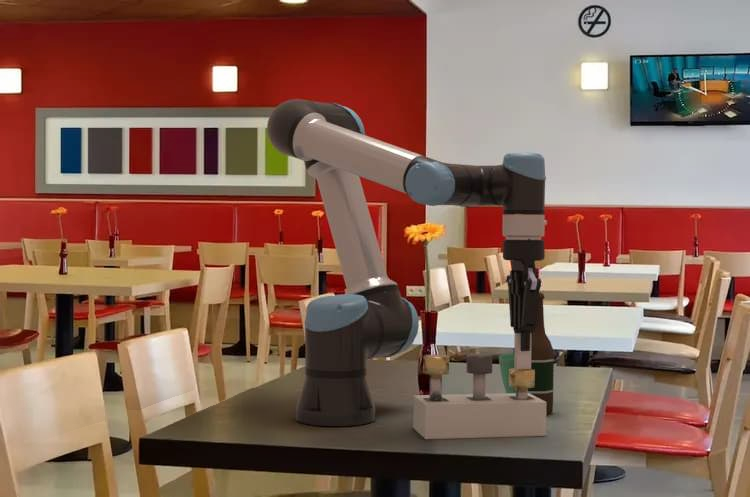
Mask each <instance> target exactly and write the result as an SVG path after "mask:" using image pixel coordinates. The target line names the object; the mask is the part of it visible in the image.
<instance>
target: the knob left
mask: <svg viewBox="0 0 750 497" xmlns="http://www.w3.org/2000/svg"><path fill="white" fill-rule="evenodd" d="M422 364H423V365H422V367H423V370H422V373H423V374H424V375H429V395H430V401H432V402H441V401H442V395H443V376H444V375H449V374H450V356H449V355H445V354H425V355H423V363H422Z"/></svg>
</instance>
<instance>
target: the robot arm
mask: <svg viewBox="0 0 750 497" xmlns="http://www.w3.org/2000/svg"><path fill="white" fill-rule="evenodd" d="M266 132H267V137H268V139H269V142H270V143H271V145H272V146H273V147H274V148H275V150H276V151H278V152H279V153H280V154H282V155H284V156H287V157H292V158H296V159H298V160H301V161H303V162H304V165H305V169H306V172H307V174H308V175H309V176H310V177H312V178H314V179H315V180H316V181H317V185H318V189H319V191H320V192H319V193H320V196H321V200H322V204H323V208H324V210H325V215H326V219H327V221H328V222H327V223H328V225H329V228H330V233H331V237H332V239H333V243H334V246H335V247H334V248H335V250H336V254H337V259H338V261H339V266H340V269H341V272H342V276H343V280H344V283H345V287H346V291H345V293H344V294H335V295H325V296H321V297H318V298H315V299H312V300H311V301H309V303H308V304H307V306H306V310H305V319H304V326H305V327H304V331H305V332H304V333H305V334H304V336H305V338H304V339H305V344H304V346H305V351H304V353H305V355H304V356H305V357H304V358H305V360H304V361H305V362H304V365H305V373H304V374H305V375H304V377H305V378H304V382H303V386H302V388H301V391H300V394H299V397H298V400H297V404H296V406H295V420H296V421H297V422H299V423H302V424H306V425H312V426H322V427H349V426H350V427H351V426H361V425H366V424H370V423H372V422H374V421H375V420H376V406H375V404H374V400H373V397H372V393H371V389H370V386H369V383H368V380H367V361H368V360H373V359H378V358H390V357H393V356H396V355H399V354H401V353H404V352H406V351H407V350H408V349H409V348H411V346H412V345H413V343H414V342H415V339H416V337H417V335H418V333H419V325H420V324H419V323H420V322H419V315H418V313H417V310H416V308H415V306H414V305H413V303H412V302H410V301H408V300H407V299H406V298H405V297H402V295H401V292H400V289H399V284H398V283H397V282H395V281H394V280H392V279H390V278H389V277H388V273H387V271H386V267H385V264H384V260H383V257H382V253H381V249H380V246H379V243H378V238H377V235H376V231H375V228H374V225H373V224H374V223H373V221H372V218H371V214H370V210H369V207H368V204H367V200H366V196H365V193H364V188H363V186H362V182H361V178H363V179H366V180H369V181H372V182H374V183H377V184H379V185H382V186H385V187H388V188H390V189H393V190H396V191H398V192H402V193H403V194H405V195H406V194H407V195H408V196H409V197H410V198H411V200H412V201H414V202H416V203H417V204H420V205H421V204H422V205H425V206H430V207H434V206H456V207H457V206H458V207H466V208H469V207H488V206H490V207H491V206H492V207H493V206H494V207H495V206H498V207H500V206H502V236H503V237H505V239H503V241H502V258H503V260H504V261H512V262H511V263H512V264H511V270H510V271H509V275H506V278H505V279H506V284H507V289H508V290H507V291H508V304H509V320H510V321H509V322H510V323H509V325H510V327H511V328H513V332H514V343H513V344H514V345H513V346H514V347H513V348H514V351H513V352H514V353H513V354H514V368H515V369H531V333H532V332H533V330H536V323H537V311H538V300H539V292H540V289H541V287H542V286H541V284H542V279H541V278H540V277H539V278H538V272H537V269H536V262H537V261H539V262H540V261H544V259H545V255H546V254H545V251H546V249H545V248H546V247H545V246H546V244H545V241H544V240H543V239H542V237H544V236H545V228H546V227H545V226H547V224H548V220H546V219H545V217H546V216H545V212H546V211H545V206H546V205H545V204H546V203H545V200H546V199H545V198H546V197H545V195H546V180H547V177H546V162H545V157H544V156H543V155H542V154H540V153H538V152H537V153H536V152H511V153H506V154H504V156H503V160H502V164H498V165H497V164H496V165H473V164H461V163H450V162H449V163H447V162H443V161H440V160H436V159H434V158H431V157H428V156H427V157H426V156H424V155H422V154H420V153H417V152H413V151H411V150H407V149H406V148H403V147H399V146H396V145H394V144H391V143H388V142H384V141H382V140H380V139H376V138H374V137H370V136H369V135H366V132H365V128H364V124H363V122H362V119H361V118H360V117H359V115H358V114H357V113H356V112H355V111H354V110H353V109H351V108H349V107H347V106H343V105H341V104H339V103H336V102H321V101H320V102H319V101H312V100H306V99H302V98H301V99H300V98H295V99H288V100H286V101H283V102H281V103H280V104H279V105H277V106H276V107H274V109H273V110H272V111H271V113H270V115H269V117H268V120H267V125H266ZM360 177H361V178H360Z"/></svg>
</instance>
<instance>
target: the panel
mask: <svg viewBox="0 0 750 497" xmlns="http://www.w3.org/2000/svg"><path fill="white" fill-rule="evenodd" d="M546 403H547V402H545V401H543V400H541V399H539V398H537V397H535V396H533V395H532V394H530V393H528V400H516V393H509V394H506V393H485V400H484V401H475V400H473V393H471V394H470V393H468V394H467V393H465V394H461V393H460V394H442V401H441V402H432V401H430V394H426V395H425V394H424V395H423V394H422V395H420V394H419V395H418V394H417V395H413V411H412V412H413V417H412V420H413V422H412V424H413V425H412V428H413V429H414V430H415V431H416V432H417V433H418V434H419V436H422V438H424V439H425V440H437V439H438V440H441V439H446V440H447V439H474V438H475V439H477V438H478V439H479V438H513V437H514V438H515V437H546V436H547V415H546Z"/></svg>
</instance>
